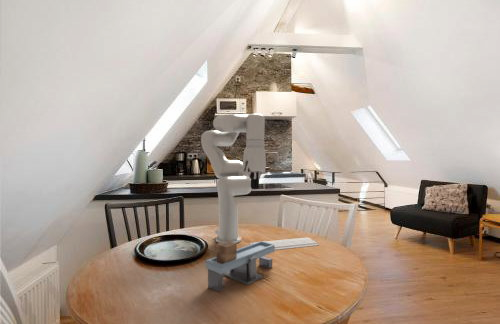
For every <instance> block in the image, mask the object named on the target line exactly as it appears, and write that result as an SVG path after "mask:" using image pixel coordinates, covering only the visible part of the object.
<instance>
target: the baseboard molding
mask: <svg viewBox="0 0 500 324" xmlns="http://www.w3.org/2000/svg"><path fill="white" fill-rule="evenodd" d="M263 241H264V242H267V243H271V244H273V245H275V251H279V250H280V251H281V250H288V249H289V250H290V249H298V248H299V249H300V248H307V247H317V246H320V245H319V243H318V242H317V241H315V240H313V239H312V238H310V237H299V238H288V239H287V238H285V239H277V240H268V241H267V240H263ZM257 242H258V241H257ZM257 242H250V241H249V245H251V244H254V243H257Z"/></svg>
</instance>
